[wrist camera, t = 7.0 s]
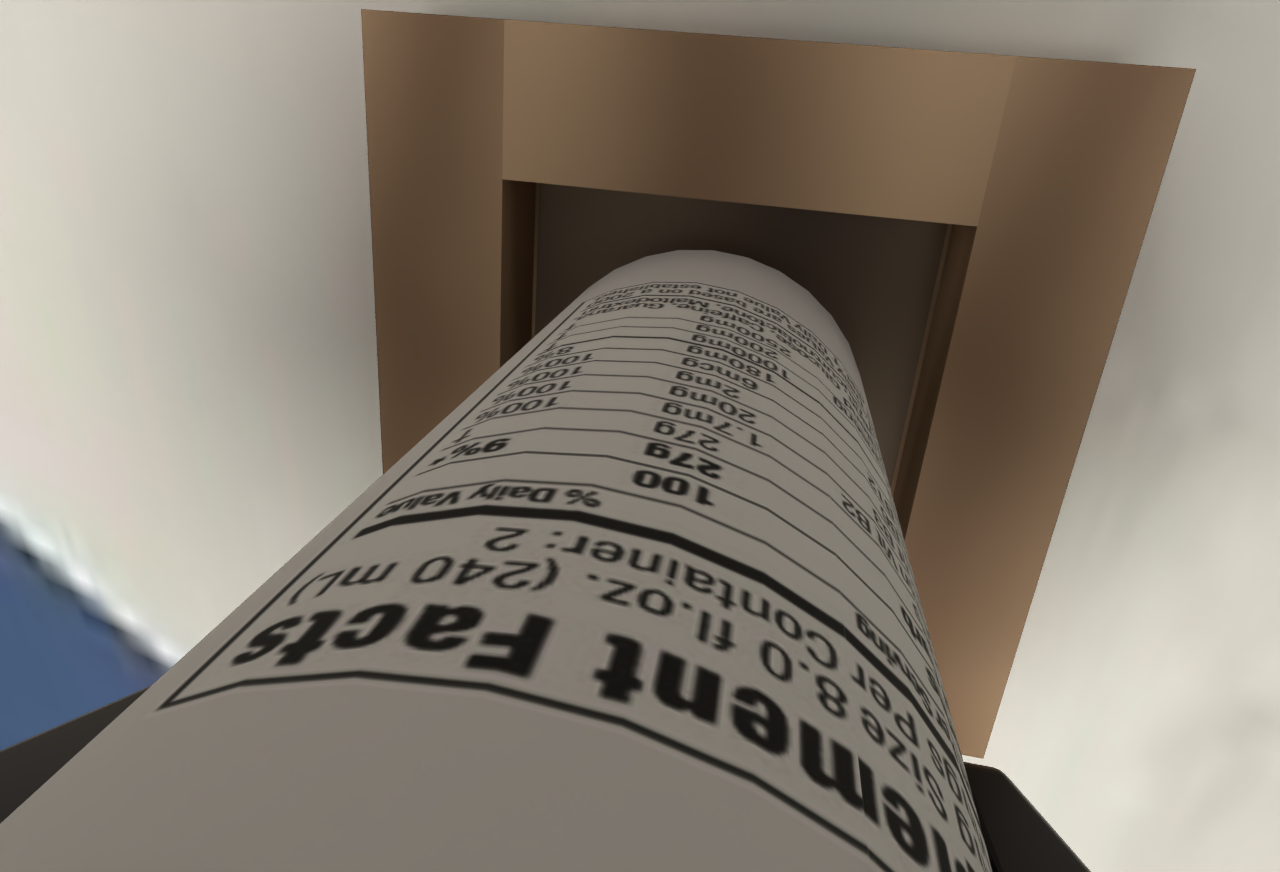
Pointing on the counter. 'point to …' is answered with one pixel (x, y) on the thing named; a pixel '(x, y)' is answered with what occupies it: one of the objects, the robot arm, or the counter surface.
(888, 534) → the energy drink can
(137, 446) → the counter surface
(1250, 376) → the counter surface
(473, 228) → the socket block
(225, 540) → the counter surface
